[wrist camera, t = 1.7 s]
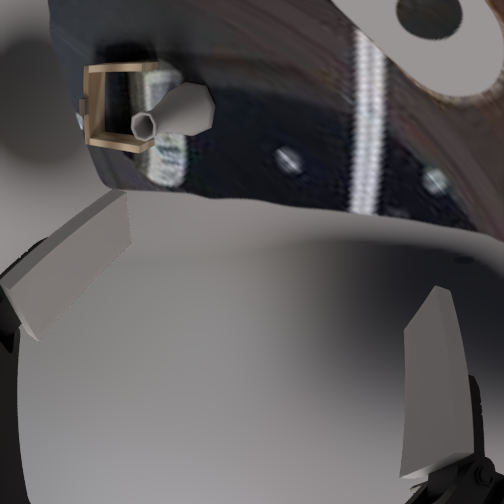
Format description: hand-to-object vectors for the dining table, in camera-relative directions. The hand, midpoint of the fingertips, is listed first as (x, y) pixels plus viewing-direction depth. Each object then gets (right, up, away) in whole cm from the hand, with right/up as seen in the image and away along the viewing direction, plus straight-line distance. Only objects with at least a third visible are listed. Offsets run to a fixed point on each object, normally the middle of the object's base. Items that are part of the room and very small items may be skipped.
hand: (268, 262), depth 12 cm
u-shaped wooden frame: (-18, +21, +24) cm, 36 cm away
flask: (-8, +18, +22) cm, 30 cm away
